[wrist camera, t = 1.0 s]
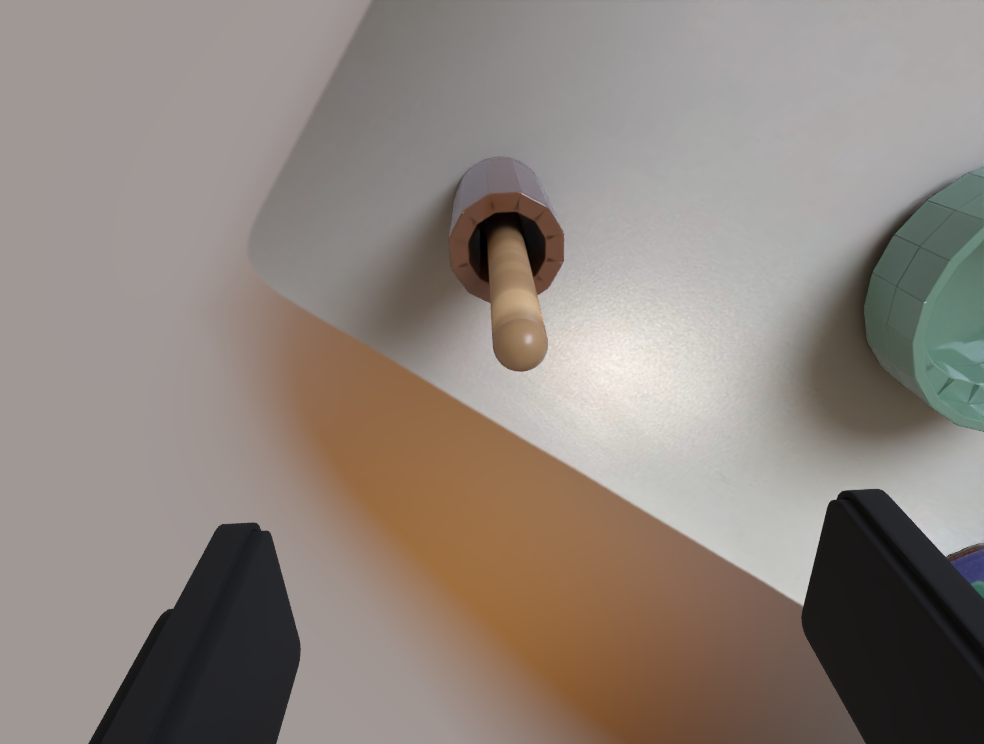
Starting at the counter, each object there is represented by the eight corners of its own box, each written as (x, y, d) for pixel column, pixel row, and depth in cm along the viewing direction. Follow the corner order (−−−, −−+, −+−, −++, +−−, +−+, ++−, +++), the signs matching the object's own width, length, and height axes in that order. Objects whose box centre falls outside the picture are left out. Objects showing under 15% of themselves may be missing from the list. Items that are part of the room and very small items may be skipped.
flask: (889, 616, 50) (986, 750, 41) (871, 597, 49) (966, 730, 40) (1002, 555, 47) (1135, 683, 38) (986, 533, 46) (1118, 659, 37)
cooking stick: (484, 192, 33) (492, 331, 17) (514, 190, 33) (550, 328, 17) (486, 222, 34) (494, 382, 18) (516, 221, 34) (551, 379, 18)
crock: (452, 159, 33) (444, 196, 25) (543, 154, 33) (564, 189, 25) (458, 248, 36) (454, 307, 28) (544, 243, 36) (563, 301, 28)
